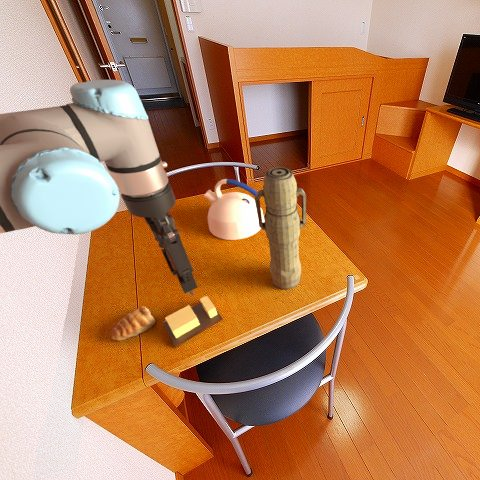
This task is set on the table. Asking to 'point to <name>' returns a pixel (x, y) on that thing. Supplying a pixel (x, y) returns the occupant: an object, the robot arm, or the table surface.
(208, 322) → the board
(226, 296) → the table surface
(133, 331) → the pastry
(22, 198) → the robot arm
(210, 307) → the butter slice
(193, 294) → the cutter
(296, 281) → the thermos
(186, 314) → the butter block
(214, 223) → the kettle
